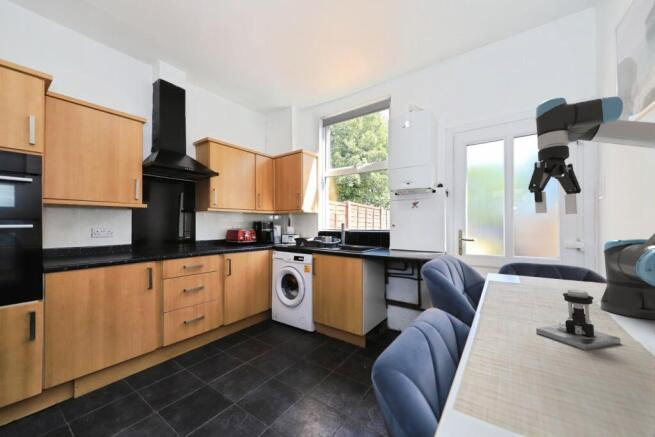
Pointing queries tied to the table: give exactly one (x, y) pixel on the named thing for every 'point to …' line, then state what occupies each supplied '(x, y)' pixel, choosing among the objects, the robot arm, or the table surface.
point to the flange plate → (578, 337)
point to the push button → (578, 313)
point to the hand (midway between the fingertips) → (556, 213)
